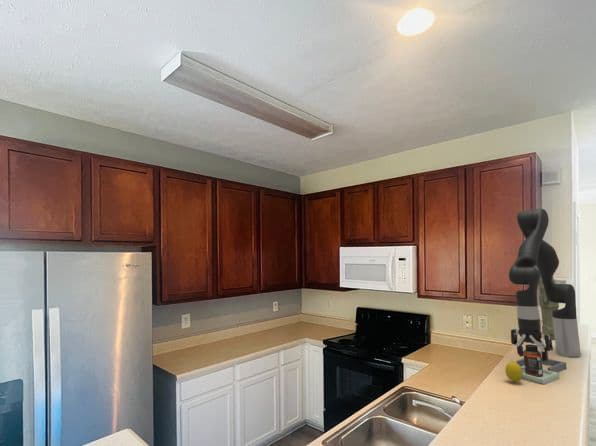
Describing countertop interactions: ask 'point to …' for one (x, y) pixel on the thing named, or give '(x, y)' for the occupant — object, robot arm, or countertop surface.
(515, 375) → the lemon
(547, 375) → the tray
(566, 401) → the countertop surface
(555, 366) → the holder
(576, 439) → the countertop surface
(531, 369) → the supplement bottle
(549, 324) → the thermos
